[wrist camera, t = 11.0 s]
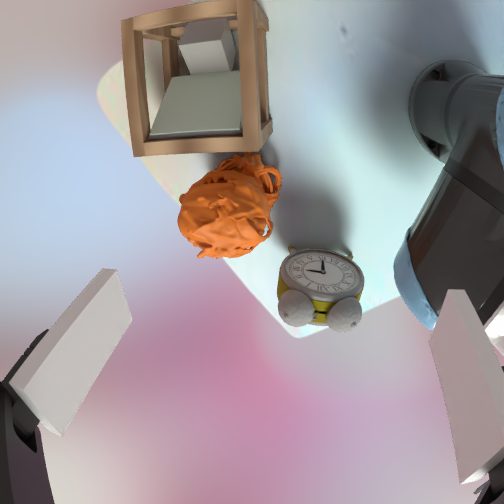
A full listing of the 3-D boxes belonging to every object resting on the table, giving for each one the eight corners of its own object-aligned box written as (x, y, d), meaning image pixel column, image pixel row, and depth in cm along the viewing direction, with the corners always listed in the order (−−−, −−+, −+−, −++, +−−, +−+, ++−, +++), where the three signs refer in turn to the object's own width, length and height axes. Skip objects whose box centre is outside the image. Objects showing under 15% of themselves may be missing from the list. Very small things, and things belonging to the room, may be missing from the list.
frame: (268, 19, 34) (252, -4, 23) (272, 132, 42) (258, 151, 31) (167, 30, 36) (121, 20, 25) (175, 135, 44) (133, 157, 33)
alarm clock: (359, 248, 48) (373, 311, 35) (350, 284, 52) (357, 351, 39) (284, 237, 50) (274, 299, 37) (280, 274, 53) (268, 340, 40)
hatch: (252, 76, 35) (251, 69, 34) (242, 137, 32) (240, 130, 31) (172, 83, 37) (170, 77, 36) (150, 142, 33) (147, 136, 32)
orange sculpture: (221, 131, 43) (170, 165, 28) (295, 159, 43) (286, 208, 28) (200, 200, 49) (150, 263, 33) (268, 226, 49) (246, 301, 34)
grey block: (231, 75, 36) (220, 40, 30) (192, 78, 36) (178, 45, 31) (236, 51, 37) (227, 17, 31) (200, 54, 38) (187, 22, 32)
